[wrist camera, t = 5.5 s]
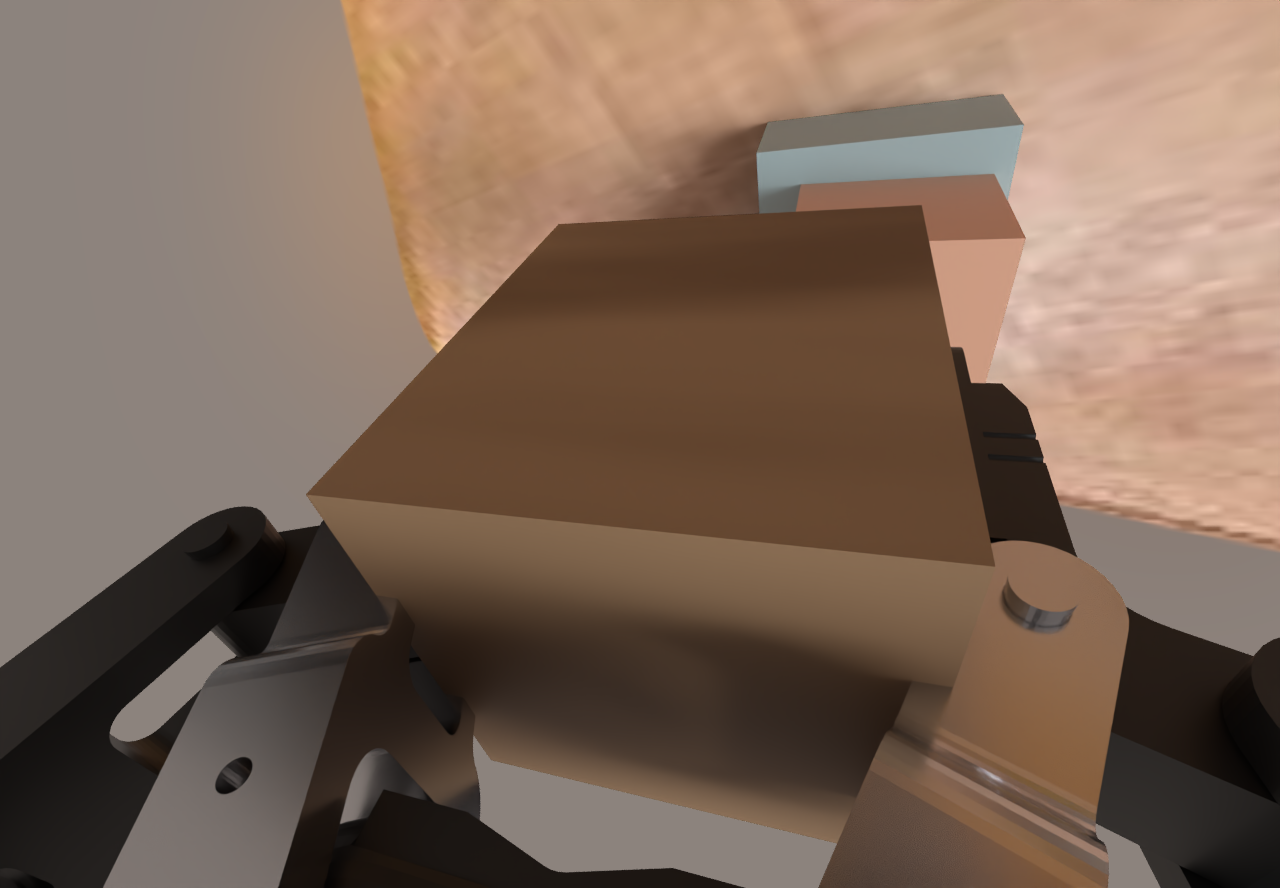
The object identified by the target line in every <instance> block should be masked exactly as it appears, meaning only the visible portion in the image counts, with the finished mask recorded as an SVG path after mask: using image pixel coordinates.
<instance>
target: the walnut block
mask: <svg viewBox="0 0 1280 888" xmlns="http://www.w3.org/2000/svg"><path fill="white" fill-rule="evenodd" d="M306 496H307V497H308V498H309V500H310V501H311V503H312V504H313V506H314V507H315V508H316V510H317V511H318V513H319V514H320V516H321V517H322V518H323V520H324V521H325V523H326V524H327V526H328V527H329V529H330V530H331V531H332V533H333V534H334V536H335V537H336V539H337V540H338V541H339V543H340V544H341V546H342V547H343V549H344V550H345V551H346V553H347V554H348V556H349V557H350V559H351V560H352V561H353V563H354V564H355V566H356V567H357V569H358V570H359V572H360V573H361V574H362V576H363V577H364V579H365V580H366V582H367V583H368V584H369V586H370V587H371V589H372V590H373V592H374V593H375V594H376V595H377V596H384V597H390V598H396V599H398V600H399V601H400V603H401V604H402V606H403V607H404V609H405V610H406V612H407V613H408V615H409V616H410V618H411V619H412V621H413V622H414V624H415V628H414V633H413V638H412V642H411V646H412V647H413V649H414V650H415V652H416V653H417V655H418V656H419V657H420V659H421V660H422V662H423V663H424V665H425V666H426V668H427V669H428V670H429V672H430V673H431V675H432V676H433V678H434V679H435V680H436V682H437V683H438V685H439V686H440V688H441V689H442V690H443V692H444V693H445V694H449V695H453V696H458V697H463V698H464V699H465V701H466V702H467V704H468V705H469V707H470V708H471V710H472V711H473V713H474V714H475V725H474V734H473V735H474V736H475V738H476V739H477V741H478V742H479V743H480V745H481V746H482V748H483V749H484V750H485V752H486V753H487V755H488V756H489V757H490V759H491V760H493V761H497V762H501V763H505V764H509V765H514V766H518V767H522V768H526V769H530V770H535V771H538V772H543V773H547V774H551V775H555V776H559V777H563V778H568V779H572V780H576V781H580V782H584V783H588V784H593V785H597V786H601V787H605V788H609V789H613V790H618V791H622V792H626V793H630V794H634V795H638V796H642V797H646V798H651V799H655V800H659V801H663V802H668V803H671V804H675V805H680V806H684V807H688V808H692V809H696V810H701V811H705V812H709V813H713V814H718V815H721V816H725V817H730V818H734V819H738V820H742V821H746V822H750V823H754V824H759V825H763V826H767V827H771V828H775V829H779V830H783V831H788V832H792V833H796V834H800V835H805V836H808V837H813V838H817V839H821V840H825V841H829V842H833V843H838V840H839V838H840V836H841V833H842V831H843V829H844V826H845V824H846V822H847V819H848V817H849V815H850V812H851V810H852V808H853V805H854V803H855V800H856V798H857V796H858V793H859V791H860V789H861V786H862V784H863V782H864V779H865V777H866V775H867V772H868V770H869V768H870V765H871V763H872V761H873V758H874V756H875V754H876V752H877V750H878V747H879V745H880V743H881V741H882V739H883V737H884V736H885V734H886V732H887V731H888V729H891V728H892V726H893V725H894V723H895V721H896V719H897V716H898V714H899V712H900V709H901V707H902V705H903V702H904V700H905V698H906V695H907V693H908V690H909V688H910V686H911V683H912V681H916V682H923V683H929V684H935V685H941V686H948V687H954V684H955V681H956V678H957V676H958V673H959V670H960V667H961V664H962V661H963V658H964V656H965V653H966V650H967V647H968V644H969V641H970V638H971V636H972V633H973V630H974V627H975V624H976V621H977V618H978V616H979V613H980V610H981V607H982V604H983V601H984V598H985V596H986V593H987V590H988V587H989V584H990V581H991V578H992V576H993V573H994V570H995V562H994V557H993V552H992V547H991V542H990V537H989V532H988V527H987V523H986V518H985V513H984V508H983V503H982V498H981V493H980V488H979V483H978V478H977V474H976V469H975V464H974V459H973V454H972V449H971V444H970V439H969V434H968V430H967V425H966V420H965V415H964V410H963V405H962V400H961V395H960V390H959V385H958V381H957V376H956V371H955V366H954V361H953V356H952V351H951V346H950V341H949V336H948V332H947V327H946V322H945V317H944V312H943V307H942V302H941V297H940V292H939V287H938V283H937V278H936V273H935V268H934V263H933V258H932V253H931V248H930V243H929V239H928V234H927V229H926V224H925V219H924V214H923V209H922V205H911V206H893V207H874V208H855V209H837V210H818V211H799V212H780V213H762V214H743V215H724V216H705V217H687V218H668V219H649V220H630V221H612V222H593V223H574V224H559V225H558V226H557V227H556V228H555V229H554V230H553V231H552V232H551V233H550V234H549V235H548V236H547V237H546V238H545V239H544V241H543V242H542V243H541V244H540V245H539V246H538V247H537V248H536V249H535V250H534V251H533V252H532V253H531V254H530V256H529V257H528V258H527V259H526V260H525V261H524V262H523V263H522V264H521V265H520V266H519V267H518V268H517V269H516V270H515V272H514V273H513V274H512V275H511V276H510V277H509V278H508V279H507V280H506V281H505V282H504V283H503V284H502V285H501V287H500V288H499V289H498V290H497V291H496V292H495V293H494V294H493V295H492V296H491V297H490V298H489V299H488V300H487V301H486V303H485V304H484V305H483V306H482V307H481V308H480V309H479V310H478V311H477V312H476V313H475V314H474V315H473V316H472V318H471V319H470V320H469V321H468V322H467V323H466V324H465V325H464V326H463V327H462V328H461V329H460V330H459V331H458V332H457V334H456V335H455V336H454V337H453V338H452V339H451V340H450V341H449V342H448V343H447V344H446V345H445V346H444V347H443V349H442V350H441V351H440V352H439V353H438V354H437V355H436V356H435V357H434V358H433V359H432V360H431V361H430V362H429V364H428V365H427V366H426V367H425V368H424V369H423V370H422V371H421V372H420V373H419V374H418V375H417V376H416V377H415V378H414V380H413V381H412V382H411V383H410V384H409V385H408V386H407V387H406V388H405V389H404V390H403V391H402V392H401V394H399V396H398V397H397V398H396V399H395V400H394V401H393V402H392V403H391V404H390V405H389V406H388V407H387V408H386V410H385V411H384V412H383V413H382V414H381V415H380V416H379V417H378V418H377V419H376V420H375V421H374V422H373V423H372V424H371V426H370V427H369V428H368V429H367V430H366V431H365V432H364V433H363V434H362V435H361V436H360V437H359V439H357V440H356V442H355V443H354V444H353V445H352V446H351V447H350V448H349V449H348V450H347V451H346V452H345V453H344V454H343V456H342V457H341V458H340V459H339V460H338V461H337V462H336V463H335V464H334V465H333V466H332V467H331V468H330V469H329V470H328V471H327V473H326V474H325V475H324V476H323V477H322V478H321V479H320V480H319V481H318V482H317V484H315V485H314V486H313V488H312V489H311V490H310V491H309V492H308V493H307V494H306Z"/></svg>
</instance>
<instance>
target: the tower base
mask: <svg viewBox="0 0 1280 888" xmlns="http://www.w3.org/2000/svg"><path fill="white" fill-rule="evenodd" d="M1023 126H1024V124H1023V123H1022V121H1021V120H1020V118H1019V117H1018V115H1017V114H1016V112H1015V111H1014V109H1013V108H1012V107H1011V105H1010V104H1009V102H1008V101H1007V99H1006V98H1005V96H1004V95H1003V94H1001V95H993V96H984V97H976V98H967V99H959V100H950V101H942V102H934V103H925V104H917V105H908V106H900V107H891V108H883V109H875V110H866V111H858V112H849V113H841V114H833V115H824V116H816V117H807V118H799V119H790V120H782V121H774V122H768V123H767V126H766V128H765V131H764V134H763V137H762V139H761V142H760V145H759V147H758V150H757V153H756V154H757V175H758V196H759V214H762V213H780V212H796V207H797V202H798V197H799V191H800V186H801V184H817V183H836V182H854V181H872V180H890V179H908V178H926V177H945V176H963V175H981V174H995V176H996V178H997V180H998V182H999V184H1000V186H1001V188H1002V190H1003V192H1004V194H1005V197H1006V199H1007V201H1008V196H1009V191H1010V187H1011V182H1012V177H1013V173H1014V168H1015V163H1016V159H1017V154H1018V149H1019V144H1020V140H1021V135H1022V130H1023Z"/></svg>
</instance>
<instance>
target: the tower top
mask: <svg viewBox="0 0 1280 888" xmlns="http://www.w3.org/2000/svg"><path fill="white" fill-rule="evenodd" d="M911 205H922V209H923V214H924V219H925V224H926V229H927V234H928V239H929V243H930V248H931V253H932V258H933V263H934V268H935V273H936V278H937V283H938V287H939V292H940V297H941V302H942V307H943V312H944V317H945V322H946V327H947V332H948V336H949V341H950V346H951V347H962V348H963V351H964V354H965V359H966V363H967V367H968V372H969V376H970V380H971V383H986V379H987V375H988V372H989V368H990V365H991V361H992V358H993V354H994V350H995V347H996V343H997V340H998V336H999V332H1000V329H1001V325H1002V322H1003V318H1004V315H1005V311H1006V307H1007V304H1008V300H1009V297H1010V293H1011V289H1012V286H1013V282H1014V279H1015V275H1016V272H1017V268H1018V264H1019V261H1020V257H1021V254H1022V250H1023V246H1024V243H1025V239H1026V238H1025V236H1024V234H1023V232H1022V229H1021V227H1020V225H1019V223H1018V221H1017V219H1016V217H1015V215H1014V213H1013V211H1012V209H1011V207H1010V205H1009V203H1008V201H1007V199H1006V197H1005V194H1004V192H1003V190H1002V188H1001V186H1000V184H999V182H998V180H997V178H996V176H995V174H981V175H963V176H945V177H926V178H908V179H890V180H872V181H854V182H836V183H817V184H801V186H800V191H799V197H798V202H797V207H796V212H799V211H818V210H837V209H855V208H874V207H893V206H911Z"/></svg>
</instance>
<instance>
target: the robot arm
mask: <svg viewBox="0 0 1280 888" xmlns="http://www.w3.org/2000/svg"><path fill="white" fill-rule="evenodd" d="M951 351H952V356H953V361H954V366H955V371H956V376H957V381H958V385H959V390H960V395H961V400H962V405H963V410H964V415H965V420H966V425H967V430H968V434H969V439H970V444H971V449H972V454H973V459H974V464H975V469H976V474H977V478H978V483H979V488H980V493H981V498H982V503H983V508H984V513H985V518H986V523H987V527H988V532H989V537H990V542H991V547H992V552H993V557H994V562H995V570H994V573H993V576H992V578H991V581H990V584H989V587H988V590H987V593H986V596H985V598H984V601H983V604H982V607H981V610H980V613H979V616H978V618H977V621H976V624H975V627H974V630H973V633H972V636H971V638H970V641H969V644H968V647H967V650H966V653H965V656H964V658H963V661H962V664H961V667H960V670H959V673H958V676H957V678H956V681H955V684H954V687H948V686H941V685H935V684H929V683H923V682H916V681H912V683H911V686H910V688H909V690H908V693H907V695H906V698H905V700H904V702H903V705H902V707H901V709H900V712H899V714H898V716H897V719H896V721H895V723H894V725H893V726H892V728H891V729H888V731H887V732H886V734H885V736H884V737H883V739H882V741H881V743H880V745H879V747H878V750H877V752H876V754H875V756H874V758H873V761H872V763H871V765H870V768H869V770H868V772H867V775H866V777H865V779H864V782H863V784H862V786H861V789H860V791H859V793H858V796H857V798H856V800H855V803H854V805H853V808H852V810H851V812H850V815H849V817H848V819H847V822H846V824H845V826H844V829H843V831H842V833H841V836H840V838H839V840H838V843H837V845H836V848H835V850H834V852H833V854H832V857H831V859H830V862H829V864H828V866H827V869H826V871H825V873H824V876H823V878H822V880H821V883H820V885H819V887H818V888H1108V876H1109V862H1108V853H1107V849H1106V846H1105V844H1104V843H1103V842H1102V841H1101V840H1099V839H1098V838H1097V835H1096V829H1095V825H1096V824H1098V825H1101V826H1103V827H1104V828H1106V829H1108V830H1110V831H1112V832H1114V833H1116V834H1119V835H1120V836H1122V837H1124V838H1126V839H1128V840H1130V841H1132V842H1134V843H1136V844H1138V845H1139V846H1140V848H1141V849H1142V852H1143V854H1144V856H1145V858H1146V860H1147V861H1148V864H1149V866H1150V868H1151V870H1152V872H1153V873H1154V875H1155V877H1156V879H1157V881H1158V883H1159V885H1160V887H1161V888H1280V638H1277V639H1274V640H1272V641H1270V642H1268V643H1267V644H1265V645H1263V646H1262V647H1261V649H1260V650H1259V651H1258V652H1257V653H1256V654H1255V655H1254V656H1251V655H1248V654H1245V653H1242V652H1239V651H1236V650H1234V649H1231V648H1228V647H1225V646H1222V645H1219V644H1216V643H1213V642H1210V641H1207V640H1204V639H1202V638H1198V637H1196V636H1193V635H1190V634H1187V633H1184V632H1181V631H1178V630H1175V629H1172V628H1170V627H1167V626H1165V625H1162V624H1159V623H1157V622H1154V621H1152V620H1150V619H1148V618H1146V617H1144V616H1142V615H1140V614H1138V613H1136V612H1134V611H1132V610H1131V609H1129V608H1127V607H1126V606H1125V604H1124V601H1123V599H1122V597H1121V596H1120V594H1119V593H1118V592H1117V590H1116V589H1115V587H1114V586H1113V585H1112V584H1111V583H1110V582H1109V581H1108V580H1107V579H1106V577H1105V576H1103V575H1102V574H1101V573H1100V572H1098V571H1097V570H1096V569H1095V568H1094V567H1092V566H1090V565H1089V564H1088V563H1086V562H1084V561H1083V560H1081V559H1079V558H1077V555H1076V553H1075V550H1074V548H1073V544H1072V541H1071V538H1070V535H1069V533H1068V529H1067V526H1066V523H1065V520H1064V517H1063V514H1062V511H1061V508H1060V505H1059V502H1058V499H1057V496H1056V493H1055V490H1054V487H1053V484H1052V481H1051V478H1050V475H1049V472H1048V469H1047V466H1046V463H1043V458H1044V457H1043V454H1042V451H1041V448H1040V445H1039V442H1038V440H1036V433H1035V430H1034V427H1033V424H1032V421H1031V418H1030V415H1029V412H1028V409H1027V407H1026V406H1025V405H1024V404H1023V403H1022V402H1021V401H1020V400H1019V399H1018V398H1017V397H1016V396H1015V395H1014V394H1012V393H1011V392H1010V391H1009V390H1008V389H1007V388H1006V387H1005V386H1004V385H1003V384H996V383H971V380H970V376H969V372H968V367H967V363H966V359H965V354H964V351H963V348H962V347H951ZM414 628H415V624H414V622H413V621H412V619H411V618H410V616H409V615H408V613H407V612H406V610H405V609H404V607H403V606H402V604H401V603H400V601H399V600H398V599H396V598H390V597H384V596H377V595H376V594H375V593H374V592H373V590H372V589H371V587H370V586H369V584H368V583H367V582H366V580H365V579H364V577H363V576H362V574H361V573H360V572H359V570H358V569H357V567H356V566H355V564H354V563H353V561H352V560H351V559H350V557H349V556H348V554H347V553H346V551H345V550H344V549H343V547H342V546H341V544H340V543H339V541H338V540H337V539H336V537H335V536H334V534H333V533H332V531H331V530H330V529H329V527H328V526H327V524H326V523H325V521H324V520H323V521H322V522H321V524H320V526H313V527H307V528H302V529H295V530H290V531H283V532H277V531H276V529H275V528H274V527H273V525H272V524H271V523H270V521H269V520H268V519H267V518H266V516H265V515H264V514H263V513H262V512H261V511H260V510H258V509H257V508H253V507H234V508H229V509H226V510H222V511H219V512H216V513H214V514H211V515H209V516H207V517H205V518H203V519H201V520H199V521H198V522H196V523H194V524H192V525H191V526H190V527H188V528H187V529H186V530H184V531H183V532H181V533H180V534H178V535H177V536H176V537H174V538H173V539H172V540H170V541H169V542H168V543H166V544H165V545H164V546H162V547H161V548H160V549H158V550H157V551H156V552H154V553H153V554H152V555H150V556H149V557H148V558H146V559H145V560H144V561H142V562H141V563H140V564H138V565H137V566H136V567H134V568H133V569H132V570H130V571H129V572H128V573H126V574H125V575H124V576H122V577H121V578H120V579H118V580H117V581H116V582H114V583H113V584H111V585H110V586H109V587H108V588H106V589H105V590H104V591H102V592H101V593H100V594H98V595H97V596H95V597H94V598H93V599H91V600H90V601H89V602H87V603H86V604H85V605H83V606H82V607H81V608H79V609H78V610H77V611H75V612H74V613H73V614H71V615H70V616H69V617H67V618H66V619H65V620H63V621H62V622H61V623H59V624H58V625H57V626H55V627H54V628H53V629H51V630H50V631H49V632H47V633H46V634H45V635H43V636H42V637H41V638H39V639H38V640H37V641H35V642H34V643H33V644H31V645H30V646H29V647H27V648H26V649H25V650H23V651H22V652H21V653H19V654H18V655H16V656H15V657H14V658H12V659H11V660H10V661H9V662H7V663H6V664H4V665H3V666H2V667H1V668H0V888H744V887H740V886H736V885H732V884H729V883H725V882H721V881H718V880H714V879H711V878H707V877H703V876H700V875H696V874H692V873H688V872H685V871H681V870H678V869H674V868H665V869H640V870H616V871H591V872H569V873H565V872H556V871H553V870H550V869H548V868H547V867H545V866H543V865H542V864H540V863H539V862H538V861H536V860H535V859H533V858H532V857H531V856H529V855H528V854H526V853H525V852H523V851H522V850H521V849H519V848H518V847H516V846H515V845H514V844H512V843H511V842H509V841H508V840H507V839H505V838H504V837H502V836H501V835H499V834H498V833H497V832H495V831H494V830H492V829H491V828H490V827H488V826H487V825H485V824H484V823H482V822H481V821H480V788H479V780H478V775H477V771H476V767H475V764H474V757H473V734H474V725H475V714H474V713H473V711H472V710H471V708H470V707H469V705H468V704H467V702H466V701H465V699H464V698H463V697H458V696H453V695H449V694H445V693H444V692H443V690H442V689H441V688H440V686H439V685H438V683H437V682H436V680H435V679H434V678H433V676H432V675H431V673H430V672H429V670H428V669H427V668H426V666H425V665H424V663H423V662H422V660H421V659H420V657H419V656H418V655H417V653H416V652H415V650H414V649H413V647H412V646H411V642H412V638H413V633H414ZM209 631H212V632H213V633H214V634H215V635H216V636H217V637H218V638H219V639H220V640H221V641H222V642H223V643H224V644H225V645H226V646H227V647H228V648H229V649H230V650H231V651H233V652H234V653H235V654H236V655H237V656H236V657H235V658H233V659H230V660H228V661H226V662H224V663H223V664H221V665H220V666H218V667H217V668H216V669H215V670H214V671H213V672H212V673H211V675H210V676H209V677H208V679H207V680H206V682H205V684H204V686H203V687H202V689H201V690H200V691H199V692H198V693H196V694H195V695H194V696H193V697H192V698H191V699H190V700H189V701H188V702H187V703H186V704H185V705H184V706H183V707H182V708H181V709H180V710H178V711H177V712H176V713H175V714H174V715H173V716H172V717H171V718H170V719H169V720H168V721H167V722H166V723H165V724H164V725H163V726H161V728H159V729H158V730H157V731H156V732H154V733H153V734H151V735H149V736H147V737H145V738H143V739H140V740H137V741H132V742H125V741H120V740H118V739H117V738H115V737H114V736H112V735H111V734H110V729H111V725H112V723H113V721H114V719H115V718H116V716H117V715H118V713H119V712H120V711H121V710H122V709H123V708H124V707H125V706H126V705H127V704H128V703H129V702H130V701H131V700H133V699H134V698H135V697H136V696H137V695H138V694H139V693H140V692H142V691H143V690H144V689H145V688H146V687H147V686H148V685H150V683H152V682H153V681H154V680H155V679H156V678H157V677H159V676H160V675H161V674H162V673H163V672H164V671H165V670H166V669H168V668H169V667H170V666H171V665H172V664H173V663H174V662H175V661H177V660H178V659H179V658H180V657H181V656H182V655H183V654H185V653H186V652H187V651H188V650H189V649H190V648H191V647H192V646H194V645H195V644H196V643H197V642H198V641H199V640H200V639H201V638H203V637H204V636H205V635H206V634H207V633H208V632H209Z"/></svg>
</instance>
